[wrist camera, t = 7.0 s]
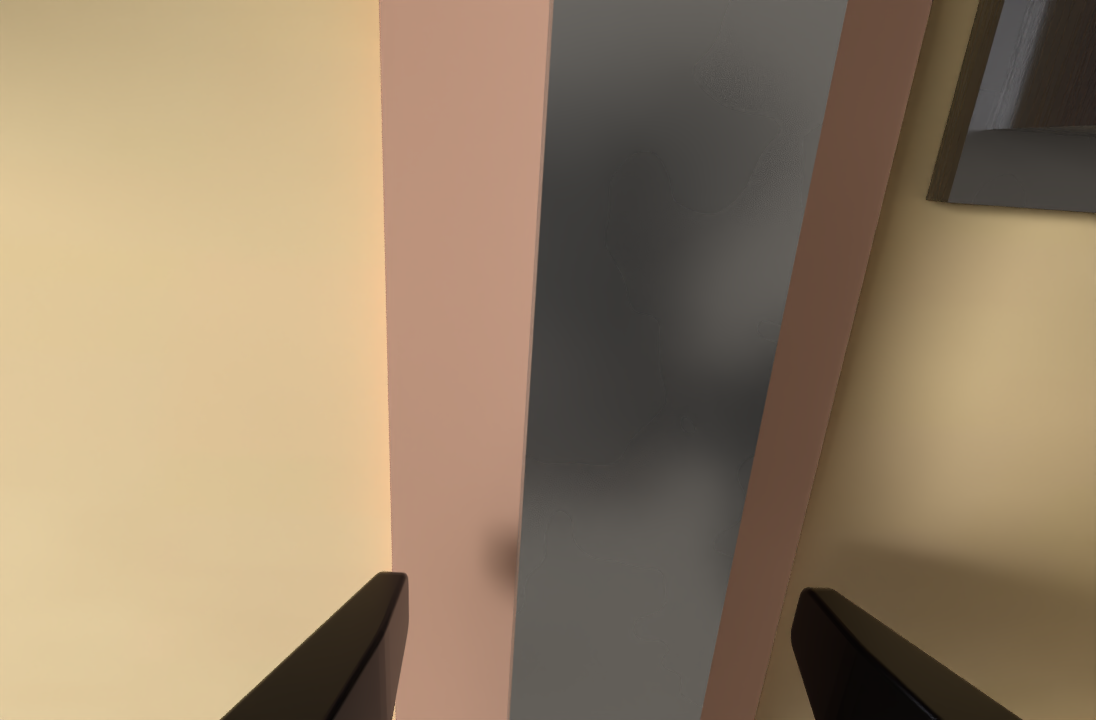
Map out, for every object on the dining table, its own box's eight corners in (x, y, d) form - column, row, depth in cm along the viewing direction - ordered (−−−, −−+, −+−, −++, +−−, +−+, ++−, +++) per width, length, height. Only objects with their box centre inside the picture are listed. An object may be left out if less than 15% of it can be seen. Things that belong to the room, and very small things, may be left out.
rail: (596, 990, 15) (609, 1159, 12) (490, 989, 15) (482, 1160, 12) (840, -533, 6) (1054, -1002, 4) (583, -567, 6) (619, -1080, 3)
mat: (699, 883, 14) (706, 914, 14) (405, 879, 14) (400, 910, 13) (1044, -584, 6) (1096, -659, 6) (377, -674, 6) (362, -762, 5)
